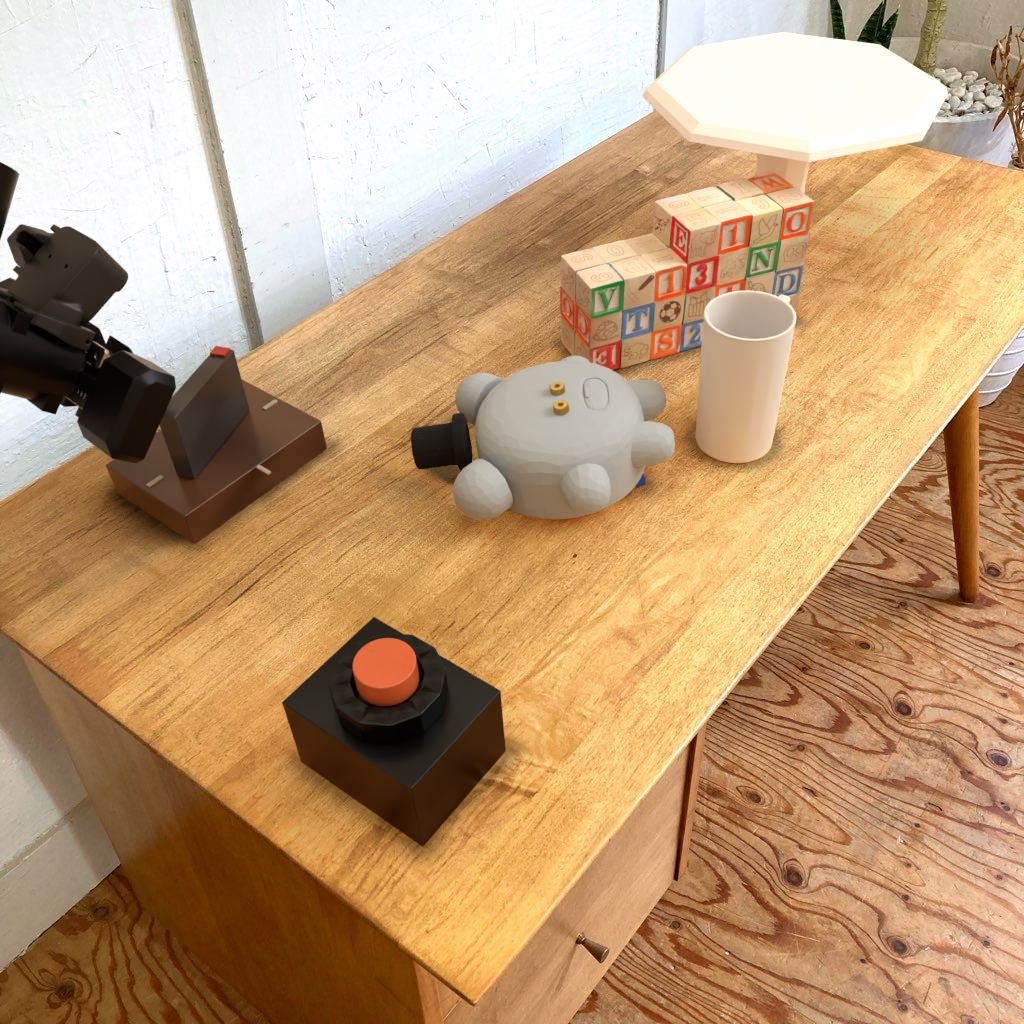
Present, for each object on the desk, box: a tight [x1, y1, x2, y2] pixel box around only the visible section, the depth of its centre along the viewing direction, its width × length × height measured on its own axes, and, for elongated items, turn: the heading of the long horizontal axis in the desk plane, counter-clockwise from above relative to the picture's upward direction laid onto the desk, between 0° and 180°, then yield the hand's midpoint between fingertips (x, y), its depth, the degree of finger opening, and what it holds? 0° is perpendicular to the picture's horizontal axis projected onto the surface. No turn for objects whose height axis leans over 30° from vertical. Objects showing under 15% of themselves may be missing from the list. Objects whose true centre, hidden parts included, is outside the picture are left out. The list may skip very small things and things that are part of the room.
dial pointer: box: [159, 345, 249, 479], centre depth 82 cm, size 9×2×6 cm, turn 162°
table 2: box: [641, 31, 949, 194], centre depth 103 cm, size 28×28×17 cm
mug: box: [695, 290, 797, 464], centre depth 83 cm, size 10×7×12 cm, turn 139°
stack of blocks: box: [559, 173, 815, 371], centre depth 93 cm, size 21×6×12 cm, turn 112°
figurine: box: [410, 355, 676, 521], centre depth 82 cm, size 17×8×20 cm
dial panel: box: [105, 379, 328, 545], centre depth 85 cm, size 14×13×3 cm
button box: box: [281, 616, 507, 847], centre depth 63 cm, size 10×8×8 cm
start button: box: [352, 638, 419, 706], centre depth 60 cm, size 4×4×2 cm
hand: (166, 394), depth 77 cm, fingers closed
